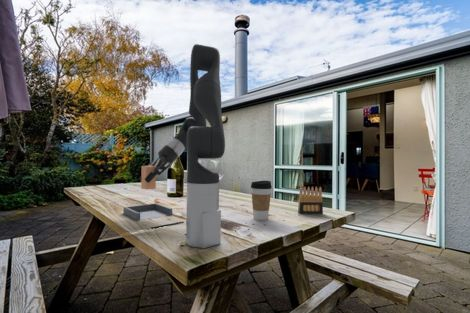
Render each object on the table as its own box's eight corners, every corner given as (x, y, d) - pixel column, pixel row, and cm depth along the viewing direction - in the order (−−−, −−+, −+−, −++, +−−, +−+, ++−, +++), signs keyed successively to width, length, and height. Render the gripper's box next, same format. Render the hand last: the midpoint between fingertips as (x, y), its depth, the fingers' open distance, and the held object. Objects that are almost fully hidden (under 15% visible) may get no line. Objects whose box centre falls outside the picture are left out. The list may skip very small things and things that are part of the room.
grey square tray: (172, 217, 100) (172, 208, 100) (137, 223, 91) (137, 213, 91) (156, 210, 111) (156, 203, 111) (123, 215, 102) (123, 207, 102)
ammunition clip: (299, 214, 109) (299, 186, 109) (297, 213, 111) (298, 186, 111) (322, 213, 110) (323, 186, 110) (321, 212, 112) (321, 186, 112)
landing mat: (183, 223, 92) (183, 221, 92) (152, 229, 84) (152, 227, 84) (171, 218, 98) (171, 217, 98) (141, 223, 90) (141, 222, 90)
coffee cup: (275, 220, 98) (275, 181, 98) (256, 221, 95) (256, 182, 95) (265, 215, 106) (265, 180, 106) (246, 216, 103) (247, 180, 103)
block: (155, 188, 100) (155, 166, 100) (145, 189, 97) (146, 166, 97) (150, 187, 103) (151, 165, 103) (141, 188, 100) (141, 166, 101)
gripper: (158, 145, 111) (130, 173, 102) (174, 144, 100) (144, 175, 92) (169, 157, 114) (143, 185, 106) (185, 157, 104) (158, 188, 95)
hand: (143, 180), depth 99 cm, fingers closed on block, 4 cm apart
